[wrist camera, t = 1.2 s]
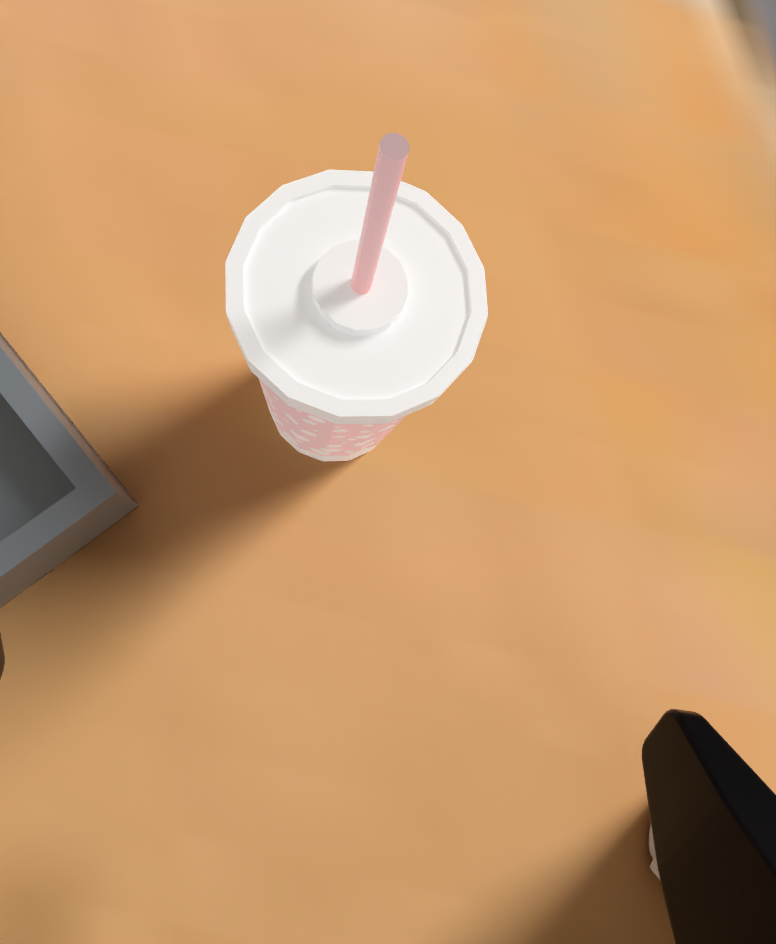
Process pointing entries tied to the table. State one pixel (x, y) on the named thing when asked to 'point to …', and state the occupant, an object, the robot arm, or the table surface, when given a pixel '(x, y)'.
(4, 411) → the tray
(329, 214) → the beverage cup
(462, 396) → the table surface
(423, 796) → the table surface
